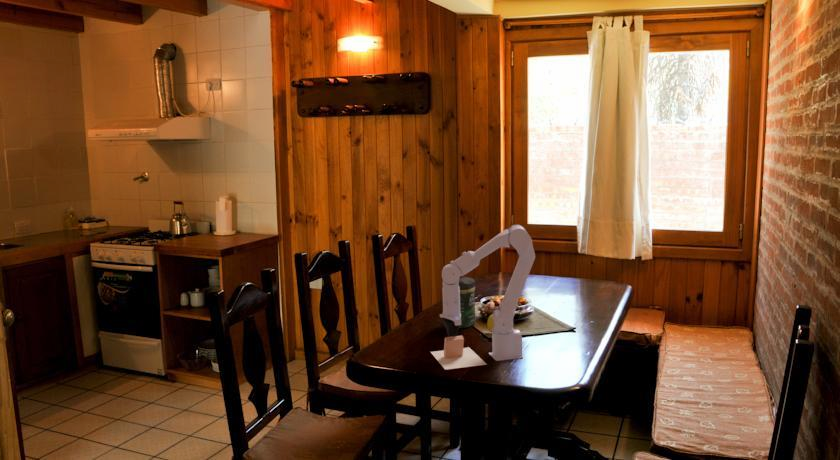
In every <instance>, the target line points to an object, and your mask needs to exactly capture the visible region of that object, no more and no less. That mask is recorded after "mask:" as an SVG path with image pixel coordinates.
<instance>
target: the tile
mask: <svg viewBox="0 0 840 460" xmlns="http://www.w3.org/2000/svg"><path fill="white" fill-rule="evenodd" d="M464 343H465V337H464V336H463V335H457V336H454V337H448V336H446V337H444V343H443V350H444V357H445V358H453V357H461V356H463V348H464V345H465V344H464Z"/></svg>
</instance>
